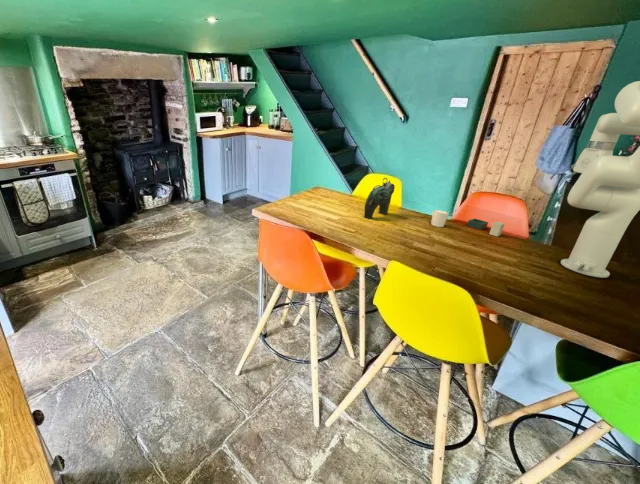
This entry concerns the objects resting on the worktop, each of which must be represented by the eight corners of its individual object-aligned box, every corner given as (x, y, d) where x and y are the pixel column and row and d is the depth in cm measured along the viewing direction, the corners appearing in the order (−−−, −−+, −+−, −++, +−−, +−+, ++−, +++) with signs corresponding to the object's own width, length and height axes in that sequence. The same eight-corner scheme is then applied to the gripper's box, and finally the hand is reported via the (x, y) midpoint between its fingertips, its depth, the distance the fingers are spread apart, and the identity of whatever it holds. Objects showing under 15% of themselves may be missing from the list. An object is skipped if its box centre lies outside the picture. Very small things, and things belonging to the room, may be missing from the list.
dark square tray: (480, 229, 147) (482, 224, 146) (467, 225, 152) (468, 220, 150) (486, 227, 150) (488, 222, 149) (472, 223, 155) (474, 218, 154)
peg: (497, 236, 139) (501, 224, 137) (489, 234, 141) (493, 222, 139) (500, 235, 141) (504, 223, 138) (492, 232, 143) (496, 221, 141)
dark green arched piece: (381, 211, 167) (388, 175, 160) (392, 214, 162) (400, 177, 155) (360, 216, 155) (367, 178, 148) (371, 220, 151) (379, 181, 144)
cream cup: (445, 224, 151) (449, 211, 148) (445, 228, 145) (449, 214, 143) (430, 221, 154) (433, 208, 152) (429, 225, 149) (432, 211, 146)
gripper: (572, 144, 131) (556, 182, 137) (611, 147, 115) (591, 191, 121) (591, 145, 130) (574, 184, 136) (633, 149, 114) (612, 193, 120)
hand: (582, 187), depth 128 cm, fingers open, 9 cm apart
